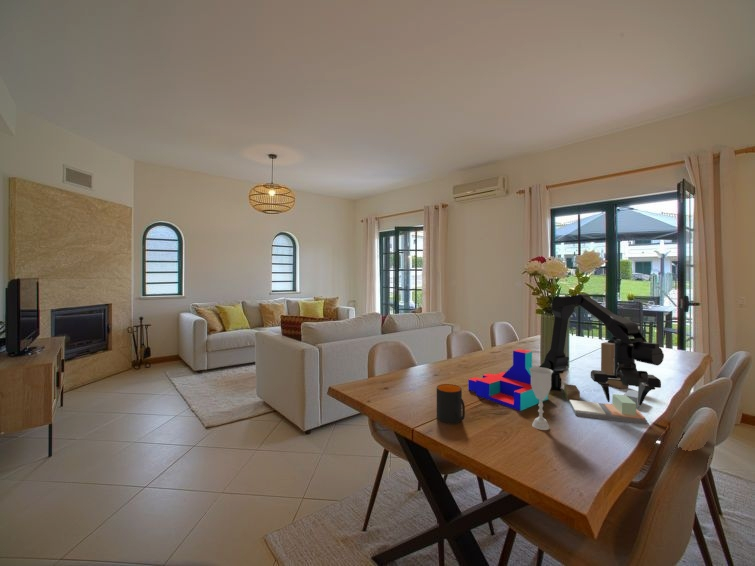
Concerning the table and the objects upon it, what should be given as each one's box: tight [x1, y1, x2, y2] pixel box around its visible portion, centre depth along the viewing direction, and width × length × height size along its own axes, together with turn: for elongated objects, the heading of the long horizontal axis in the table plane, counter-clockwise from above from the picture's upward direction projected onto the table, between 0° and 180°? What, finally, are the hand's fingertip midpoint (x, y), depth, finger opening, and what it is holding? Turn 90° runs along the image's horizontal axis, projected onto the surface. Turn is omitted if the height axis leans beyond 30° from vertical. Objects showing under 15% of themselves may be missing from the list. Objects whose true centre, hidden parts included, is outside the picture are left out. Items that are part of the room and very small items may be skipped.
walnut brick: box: [563, 383, 581, 402], centre depth 131 cm, size 4×8×4 cm, turn 160°
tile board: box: [568, 400, 648, 425], centre depth 116 cm, size 20×12×2 cm, turn 69°
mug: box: [436, 383, 466, 425], centre depth 111 cm, size 8×12×10 cm
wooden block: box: [600, 341, 629, 390], centre depth 145 cm, size 9×4×18 cm, turn 23°
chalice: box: [529, 366, 553, 431], centre depth 106 cm, size 7×7×18 cm
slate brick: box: [623, 389, 640, 409], centre depth 124 cm, size 4×8×4 cm, turn 131°
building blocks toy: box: [468, 348, 549, 412], centre depth 134 cm, size 19×25×18 cm
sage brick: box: [611, 393, 637, 416], centre depth 114 cm, size 4×8×4 cm, turn 164°
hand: (623, 403), depth 114 cm, fingers open, 9 cm apart
